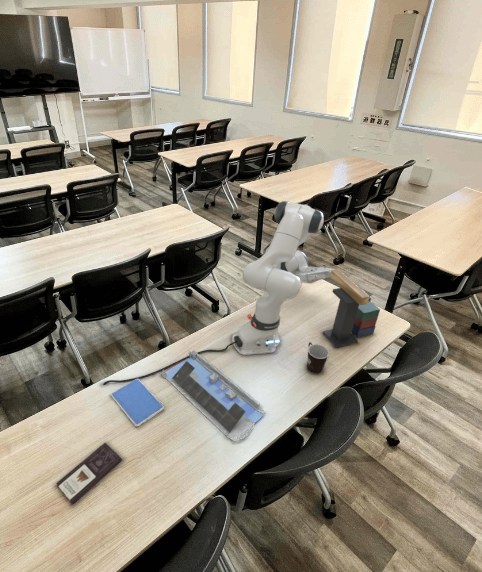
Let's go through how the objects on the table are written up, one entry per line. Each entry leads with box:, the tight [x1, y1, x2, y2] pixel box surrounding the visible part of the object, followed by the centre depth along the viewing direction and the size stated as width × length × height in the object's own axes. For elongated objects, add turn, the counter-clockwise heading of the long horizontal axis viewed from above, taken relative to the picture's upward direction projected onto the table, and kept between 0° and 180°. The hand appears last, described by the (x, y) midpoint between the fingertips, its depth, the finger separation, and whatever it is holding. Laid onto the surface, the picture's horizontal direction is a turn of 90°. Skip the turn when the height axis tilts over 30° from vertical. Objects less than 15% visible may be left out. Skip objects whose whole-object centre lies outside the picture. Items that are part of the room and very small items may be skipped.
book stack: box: [351, 300, 381, 339], centre depth 175 cm, size 10×15×15 cm, turn 19°
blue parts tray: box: [160, 350, 267, 442], centre depth 141 cm, size 18×45×6 cm, turn 44°
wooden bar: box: [329, 268, 371, 305], centre depth 159 cm, size 4×23×4 cm, turn 19°
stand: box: [322, 287, 372, 349], centre depth 165 cm, size 12×11×26 cm
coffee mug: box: [306, 342, 330, 375], centre depth 154 cm, size 12×9×10 cm
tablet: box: [110, 379, 165, 428], centre depth 138 cm, size 19×13×1 cm, turn 43°
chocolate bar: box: [56, 442, 123, 505], centre depth 115 cm, size 9×1×18 cm
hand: (323, 275), depth 176 cm, fingers open, 8 cm apart
